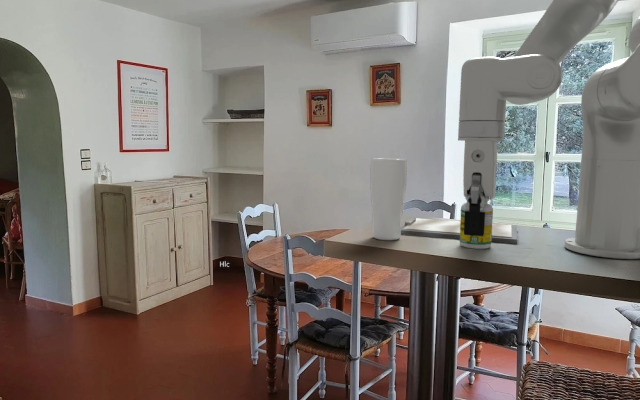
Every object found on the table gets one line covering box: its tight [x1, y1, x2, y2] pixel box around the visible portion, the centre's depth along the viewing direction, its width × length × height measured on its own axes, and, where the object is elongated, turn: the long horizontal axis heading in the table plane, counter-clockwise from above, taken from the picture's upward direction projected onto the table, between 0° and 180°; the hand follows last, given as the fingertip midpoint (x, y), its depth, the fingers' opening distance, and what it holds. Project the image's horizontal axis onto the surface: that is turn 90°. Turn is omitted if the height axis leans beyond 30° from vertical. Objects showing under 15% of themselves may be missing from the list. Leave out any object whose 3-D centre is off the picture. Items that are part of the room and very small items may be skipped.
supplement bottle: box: [459, 191, 494, 250], centre depth 84 cm, size 5×5×10 cm
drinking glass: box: [369, 157, 408, 241], centre depth 90 cm, size 7×7×15 cm
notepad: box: [401, 217, 518, 245], centre depth 98 cm, size 22×16×2 cm
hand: (475, 230), depth 85 cm, fingers open, 9 cm apart
